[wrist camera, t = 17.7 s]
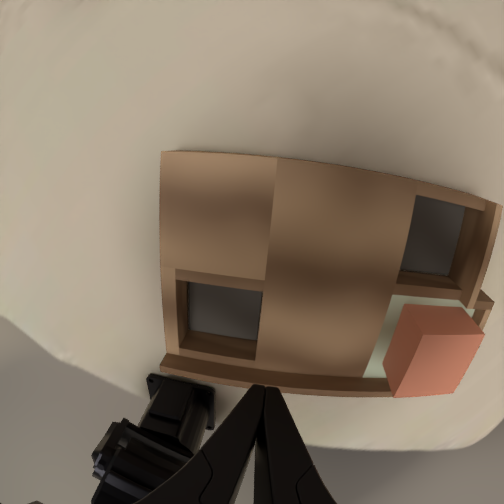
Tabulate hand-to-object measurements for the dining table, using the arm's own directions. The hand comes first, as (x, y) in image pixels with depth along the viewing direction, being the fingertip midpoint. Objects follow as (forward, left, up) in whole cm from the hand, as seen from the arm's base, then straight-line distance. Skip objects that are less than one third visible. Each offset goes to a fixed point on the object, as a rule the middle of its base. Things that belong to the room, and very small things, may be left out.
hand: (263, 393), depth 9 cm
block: (-3, -11, -9) cm, 14 cm away
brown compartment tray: (0, -4, -11) cm, 12 cm away
